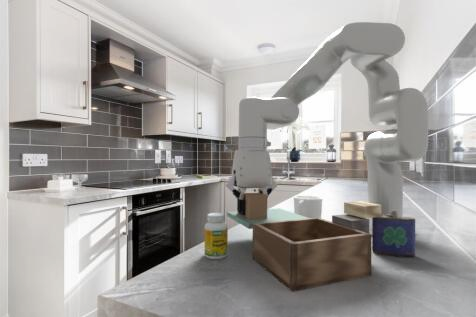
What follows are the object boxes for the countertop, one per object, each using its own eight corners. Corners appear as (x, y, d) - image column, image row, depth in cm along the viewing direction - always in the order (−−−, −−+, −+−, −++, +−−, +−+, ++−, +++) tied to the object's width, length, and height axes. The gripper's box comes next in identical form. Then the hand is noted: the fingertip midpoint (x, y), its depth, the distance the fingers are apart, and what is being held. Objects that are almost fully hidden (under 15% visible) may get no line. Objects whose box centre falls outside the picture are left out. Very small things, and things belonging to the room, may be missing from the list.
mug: (300, 224, 93) (300, 194, 93) (325, 228, 88) (326, 197, 88) (286, 231, 85) (286, 198, 85) (313, 236, 79) (314, 201, 79)
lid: (279, 212, 84) (280, 189, 84) (310, 223, 69) (311, 195, 69) (226, 215, 77) (227, 190, 77) (249, 228, 63) (249, 197, 63)
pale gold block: (360, 211, 66) (360, 201, 66) (381, 216, 60) (381, 205, 60) (344, 213, 64) (344, 202, 64) (364, 218, 58) (364, 206, 58)
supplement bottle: (220, 250, 66) (220, 211, 66) (231, 257, 62) (232, 215, 62) (200, 254, 63) (200, 213, 63) (211, 261, 59) (211, 217, 59)
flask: (413, 254, 65) (413, 209, 65) (417, 258, 62) (418, 211, 62) (371, 250, 67) (371, 207, 67) (373, 254, 64) (373, 209, 64)
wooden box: (333, 247, 69) (334, 210, 69) (389, 271, 54) (389, 224, 54) (252, 259, 61) (252, 216, 61) (292, 291, 46) (292, 235, 46)
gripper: (273, 146, 78) (272, 209, 78) (217, 144, 72) (216, 213, 72) (287, 145, 71) (286, 214, 71) (227, 143, 65) (226, 218, 65)
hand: (251, 212), depth 71 cm, fingers closed on lid, 5 cm apart
